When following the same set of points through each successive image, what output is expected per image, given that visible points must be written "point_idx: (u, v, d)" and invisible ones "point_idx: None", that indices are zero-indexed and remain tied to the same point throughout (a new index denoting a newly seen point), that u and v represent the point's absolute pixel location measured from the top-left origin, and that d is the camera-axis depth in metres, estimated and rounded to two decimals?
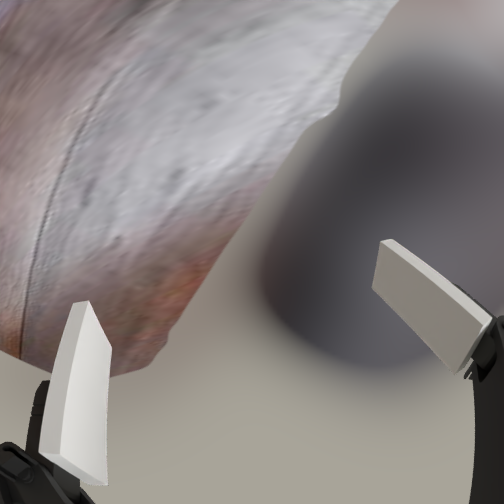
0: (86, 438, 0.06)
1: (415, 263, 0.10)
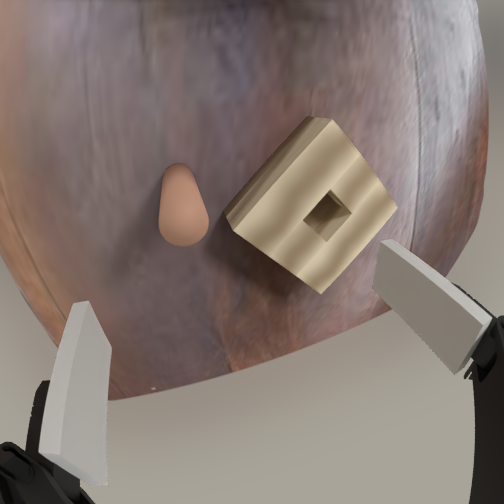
0: (86, 438, 0.06)
1: (415, 263, 0.10)
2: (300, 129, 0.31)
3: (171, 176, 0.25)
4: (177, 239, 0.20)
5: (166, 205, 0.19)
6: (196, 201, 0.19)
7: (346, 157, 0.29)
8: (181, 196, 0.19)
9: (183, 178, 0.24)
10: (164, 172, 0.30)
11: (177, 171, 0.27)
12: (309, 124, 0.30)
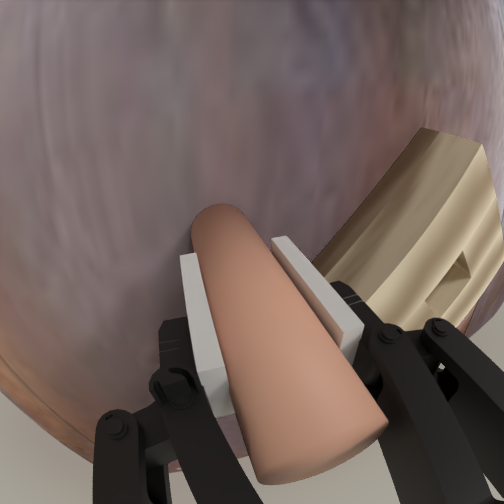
0: None
1: (295, 260, 0.11)
2: (419, 149, 0.17)
3: (227, 256, 0.11)
4: (299, 477, 0.06)
5: (289, 448, 0.05)
6: (375, 413, 0.05)
7: (485, 202, 0.15)
8: (331, 409, 0.05)
9: (267, 272, 0.10)
10: (194, 223, 0.16)
11: (234, 236, 0.13)
12: (434, 142, 0.16)
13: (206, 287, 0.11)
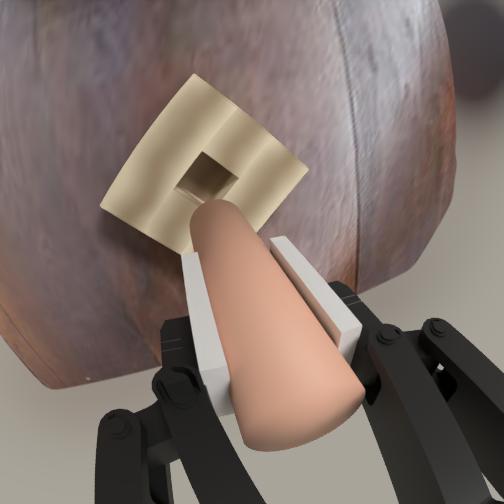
0: None
1: (294, 260, 0.11)
2: None
3: (221, 243, 0.12)
4: (284, 444, 0.07)
5: (269, 404, 0.06)
6: (349, 377, 0.06)
7: (218, 112, 0.25)
8: (307, 370, 0.06)
9: (256, 256, 0.11)
10: (193, 216, 0.17)
11: (228, 226, 0.14)
12: None
13: (202, 272, 0.12)
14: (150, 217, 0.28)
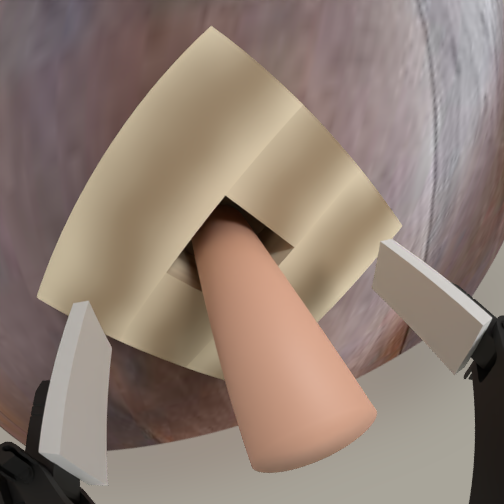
0: (86, 438, 0.06)
1: (415, 263, 0.10)
2: None
3: (225, 254, 0.12)
4: (292, 465, 0.06)
5: (280, 433, 0.05)
6: (362, 402, 0.06)
7: (262, 113, 0.11)
8: (320, 397, 0.06)
9: (262, 269, 0.11)
10: None
11: (232, 235, 0.13)
12: None
13: (205, 284, 0.12)
14: (127, 318, 0.14)
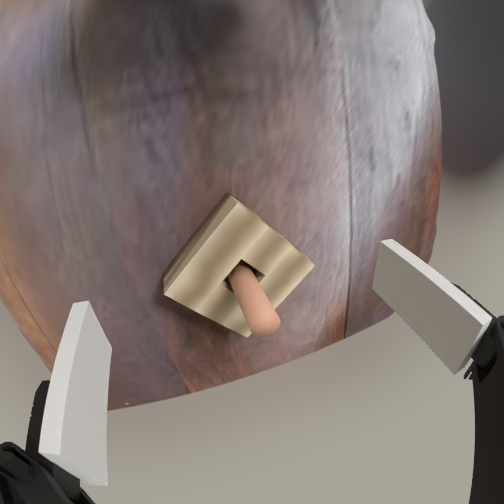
0: (86, 438, 0.06)
1: (415, 263, 0.10)
2: (219, 206, 0.40)
3: (241, 278, 0.38)
4: (260, 333, 0.32)
5: (256, 316, 0.31)
6: (274, 313, 0.32)
7: (254, 232, 0.38)
8: (264, 310, 0.32)
9: (253, 283, 0.37)
10: None
11: (243, 272, 0.39)
12: (225, 202, 0.39)
13: (235, 288, 0.38)
14: (202, 302, 0.40)
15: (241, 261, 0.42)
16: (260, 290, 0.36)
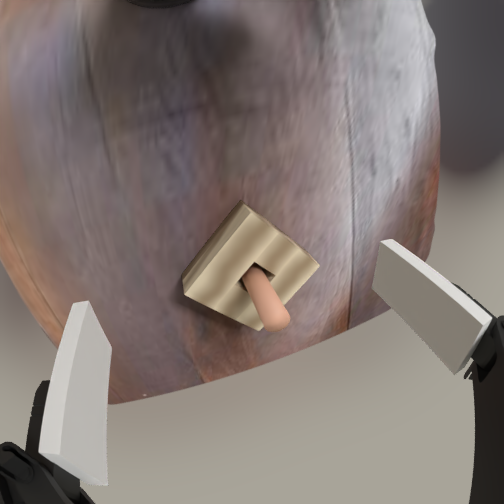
0: (86, 438, 0.06)
1: (415, 263, 0.10)
2: (233, 213, 0.44)
3: (255, 279, 0.42)
4: (272, 329, 0.37)
5: (269, 314, 0.36)
6: (284, 311, 0.36)
7: (265, 237, 0.42)
8: (276, 308, 0.36)
9: (265, 284, 0.41)
10: None
11: (256, 273, 0.43)
12: (238, 210, 0.43)
13: (249, 288, 0.42)
14: (218, 300, 0.45)
15: (253, 263, 0.46)
16: (272, 290, 0.40)
